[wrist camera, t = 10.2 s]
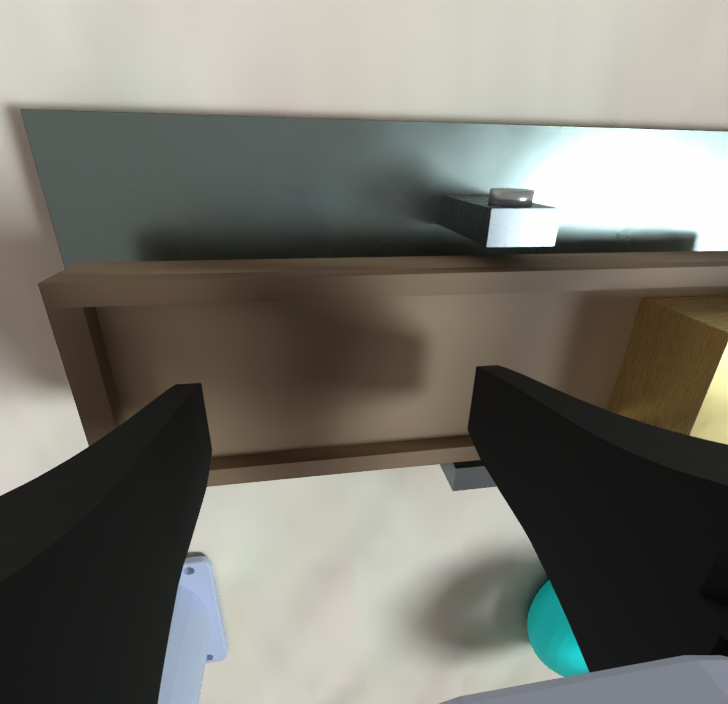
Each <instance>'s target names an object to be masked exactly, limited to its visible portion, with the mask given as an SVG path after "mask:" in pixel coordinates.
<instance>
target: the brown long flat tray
mask: <svg viewBox="0 0 728 704" xmlns="http://www.w3.org/2000/svg"><path fill="white" fill-rule="evenodd" d="M38 285H39V289H40V292H41V295H42V298H43V301H44V305H45V308H46V311H47V314H48V317H49V320H50V324H51V327H52V330H53V333H54V336H55V340H56V343H57V346H58V349H59V352H60V355H61V359H62V362H63V365H64V368H65V371H66V375H67V378H68V381H69V384H70V387H71V390H72V394H73V397H74V400H75V403H76V406H77V410H78V413H79V416H80V419H81V422H82V425H83V429H84V432H85V435H86V438H87V441H88V445H89V446H91V445H92V444H93V443H95V442H96V441H98V440H99V439H101V438H102V437H104V436H105V435H107V434H108V433H110V432H111V431H112V430H114V429H115V428H117V427H118V426H120V425H121V424H123V423H124V422H125V421H127V420H128V419H129V418H131V417H132V416H133V415H134V414H136V413H137V412H138V411H140V410H141V409H142V408H144V407H145V406H146V405H148V404H149V403H150V402H152V401H153V400H154V399H156V398H157V397H158V396H159V395H161V394H162V393H163V392H165V391H166V390H168V389H169V388H170V387H172V386H174V385H175V384H190V383H201V384H202V390H203V396H204V402H205V408H206V415H207V421H208V427H209V433H210V439H211V445H212V456H211V463H210V471H209V477H208V483H207V487H208V486H218V485H228V484H238V483H249V482H259V481H269V480H279V479H290V478H300V477H310V476H320V475H330V474H341V473H351V472H361V471H371V470H382V469H392V468H402V467H412V466H423V465H433V464H443V463H453V462H463V461H474V460H481V459H480V457H479V455H478V453H477V451H476V448H475V446H474V444H473V441H472V439H471V437H470V434H469V432H468V429H467V428H468V421H469V414H470V407H471V400H472V393H473V386H474V379H475V372H476V366H490V365H499V366H502V367H505V368H508V369H511V370H513V371H516V372H518V373H521V374H523V375H525V376H528V377H530V378H532V379H534V380H537V381H539V382H541V383H543V384H546V385H548V386H550V387H552V388H554V389H557V390H559V391H561V392H564V393H566V394H568V395H571V396H573V397H575V398H578V399H580V400H582V401H585V402H587V403H590V404H593V405H595V406H598V407H600V408H603V409H605V410H607V409H608V406H609V403H610V400H611V396H612V393H613V390H614V386H615V383H616V380H617V377H618V373H619V370H620V367H621V364H622V360H623V357H624V354H625V350H626V347H627V344H628V341H629V337H630V334H631V331H632V328H633V324H634V321H635V318H636V314H637V311H638V308H639V305H640V301H641V298H644V297H671V296H697V295H724V294H728V251H678V252H624V253H570V254H517V255H463V256H409V257H355V258H301V259H247V260H194V261H140V262H86V263H77V264H75V265H73V266H71V267H69V268H67V269H65V270H63V271H61V272H59V273H57V274H56V275H54V276H52V277H50V278H48V279H46V280H44V281H42V282H40V283H38Z"/></svg>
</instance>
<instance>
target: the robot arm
mask: <svg viewBox="0 0 728 704" xmlns="http://www.w3.org/2000/svg"><path fill="white" fill-rule="evenodd" d="M467 429H468V432H469V434H470V437H471V439H472V441H473V444H474V446H475V448H476V451H477V453H478V455H479V457H480V459H481V461H482V463H483V464H484V466H485V468H486V469H487V471H488V473H489V474H490V476H491V478H492V479H493V481H494V482H495V484H496V486H497V487H498V489H499V490H500V492H501V494H502V495H503V497H504V498H505V500H506V502H507V503H508V505H509V506H510V508H511V510H512V511H513V513H514V514H515V516H516V518H517V519H518V521H519V522H520V524H521V526H522V527H523V529H524V531H525V532H526V534H527V536H528V538H529V540H530V541H531V543H532V545H533V547H534V549H535V551H536V553H537V555H538V557H539V559H540V562H541V564H542V566H543V568H544V570H545V572H546V574H547V576H548V578H549V580H550V582H551V584H552V587H553V589H554V591H555V593H556V596H557V598H558V600H559V602H560V604H561V607H562V609H563V611H564V613H565V615H566V618H567V620H568V622H569V625H570V627H571V629H572V632H573V634H574V637H575V639H576V641H577V644H578V646H579V649H580V651H581V653H582V656H583V658H584V661H585V663H586V665H587V668H588V670H589V673H585V674H580V675H574V676H569V677H563V678H558V679H552V680H547V681H542V682H536V683H531V684H525V685H520V686H514V687H509V688H503V689H498V690H493V691H487V692H482V693H476V694H471V695H465V696H460V697H457V698H454V699H451V700H448V701H445V702H442V703H439V704H728V444H723V443H718V442H714V441H709V440H705V439H701V438H697V437H693V436H689V435H685V434H681V433H678V432H674V431H670V430H666V429H663V428H659V427H656V426H653V425H649V424H646V423H643V422H640V421H637V420H634V419H631V418H628V417H625V416H622V415H619V414H616V413H613V412H611V411H608V410H605V409H603V408H600V407H598V406H595V405H593V404H590V403H587V402H585V401H582V400H580V399H578V398H575V397H573V396H571V395H568V394H566V393H564V392H561V391H559V390H557V389H554V388H552V387H550V386H548V385H546V384H543V383H541V382H539V381H537V380H534V379H532V378H530V377H528V376H525V375H523V374H521V373H518V372H516V371H513V370H511V369H508V368H505V367H502V366H499V365H490V366H476V372H475V379H474V386H473V393H472V400H471V407H470V414H469V421H468V428H467ZM211 456H212V445H211V439H210V433H209V427H208V421H207V415H206V408H205V402H204V396H203V390H202V384H201V383H190V384H175V385H174V386H172V387H170V388H169V389H168V390H166V391H165V392H163V393H162V394H161V395H159V396H158V397H157V398H156V399H154V400H153V401H152V402H150V403H149V404H148V405H146V406H145V407H144V408H142V409H141V410H140V411H138V412H137V413H136V414H134V415H133V416H132V417H131V418H129V419H128V420H127V421H125V422H124V423H123V424H121V425H120V426H118V427H117V428H115V429H114V430H112V431H111V432H110V433H108V434H107V435H105V436H104V437H102V438H101V439H99V440H98V441H96V442H95V443H93V444H92V445H91V446H89V447H88V448H86V449H85V450H83V451H81V452H80V453H78V454H77V455H75V456H73V457H72V458H70V459H69V460H67V461H65V462H64V463H62V464H60V465H58V466H57V467H55V468H53V469H51V470H50V471H48V472H46V473H44V474H42V475H41V476H39V477H37V478H35V479H33V480H32V481H30V482H28V483H26V484H24V485H22V486H20V487H18V488H16V489H14V490H12V491H10V492H7V493H5V494H3V495H1V496H0V704H199V699H200V693H201V687H202V681H203V674H204V668H205V663H210V662H216V661H221V660H223V659H225V658H226V657H227V652H228V646H227V641H226V636H225V630H224V625H223V620H222V615H221V610H220V604H219V599H218V594H217V589H216V584H215V578H214V573H213V568H212V563H211V560H210V559H209V558H207V557H204V556H197V557H189V558H186V556H187V552H188V549H189V545H190V542H191V539H192V535H193V532H194V529H195V525H196V522H197V519H198V515H199V512H200V508H201V505H202V502H203V498H204V495H205V491H206V487H207V483H208V477H209V471H210V463H211ZM189 567H191V568H189Z"/></svg>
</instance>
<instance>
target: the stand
mask: <svg viewBox="0 0 728 704" xmlns="http://www.w3.org/2000/svg"><path fill="white" fill-rule="evenodd" d="M20 110H21V114H22V117H23V121H24V125H25V128H26V132H27V135H28V139H29V142H30V146H31V149H32V153H33V156H34V160H35V163H36V167H37V171H38V174H39V178H40V181H41V185H42V188H43V192H44V195H45V199H46V202H47V206H48V210H49V213H50V217H51V220H52V224H53V227H54V231H55V234H56V238H57V241H58V245H59V249H60V252H61V256H62V259H63V263H64V266H65V269H67V268H69V267H71V266H73V265H75V264H77V263H86V262H140V261H194V260H247V259H301V258H355V257H409V256H463V255H517V254H570V253H624V252H678V251H728V132H722V131H690V130H659V129H627V128H596V127H565V126H533V125H502V124H470V123H439V122H408V121H376V120H345V119H314V118H282V117H251V116H219V115H188V114H157V113H125V112H94V111H63V110H31V109H20ZM433 465H434V464H433ZM423 466H424V465H423ZM440 466H441V468H442V470H443V472H444V474H445V476H446V478H447V480H448V482H449V484H450V486H451V488H452V490H453V491H458V490H467V489H477V488H486V487H496V484H495V482H494V481H493V479H492V478H491V476H490V474H489V473H488V471H487V469H486V468H485V466H484V464H483V463H482V461H481V460H474V461H463V462H453V463H443V464H440ZM412 467H413V466H412Z"/></svg>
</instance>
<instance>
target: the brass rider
mask: <svg viewBox="0 0 728 704" xmlns="http://www.w3.org/2000/svg"><path fill="white" fill-rule="evenodd" d="M607 410H608V411H611V412H613V413H616V414H619V415H622V416H625V417H628V418H631V419H634V420H637V421H640V422H643V423H646V424H649V425H653V426H656V427H659V428H663V429H666V430H670V431H674V432H678V433H681V434H685V435H689V436H693V437H697V438H701V439H705V440H709V441H714V442H718V443H723V444H728V294H724V295H697V296H671V297H644V298H641V301H640V305H639V308H638V311H637V314H636V318H635V321H634V324H633V328H632V331H631V334H630V337H629V341H628V344H627V347H626V350H625V354H624V357H623V360H622V364H621V367H620V370H619V373H618V377H617V380H616V383H615V386H614V390H613V393H612V396H611V400H610V403H609V406H608V409H607Z"/></svg>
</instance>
